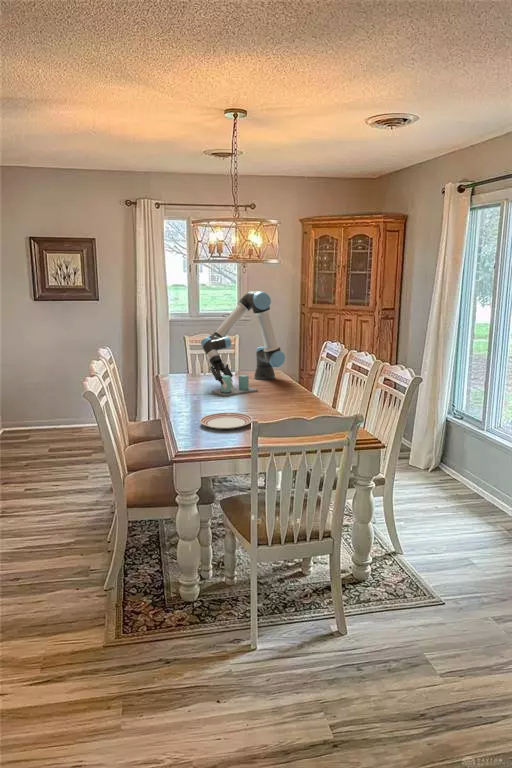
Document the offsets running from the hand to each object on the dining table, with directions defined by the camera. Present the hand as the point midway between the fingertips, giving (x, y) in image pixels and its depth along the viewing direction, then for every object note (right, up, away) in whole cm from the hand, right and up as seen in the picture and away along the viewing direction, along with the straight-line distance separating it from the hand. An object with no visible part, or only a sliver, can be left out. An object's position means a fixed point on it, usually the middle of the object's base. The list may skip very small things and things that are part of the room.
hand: (229, 387), depth 376 cm
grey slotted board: (+3, -3, +8) cm, 9 cm away
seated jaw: (+9, -2, +12) cm, 15 cm away
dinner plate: (+2, -20, -67) cm, 70 cm away
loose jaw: (-2, -3, +4) cm, 5 cm away
